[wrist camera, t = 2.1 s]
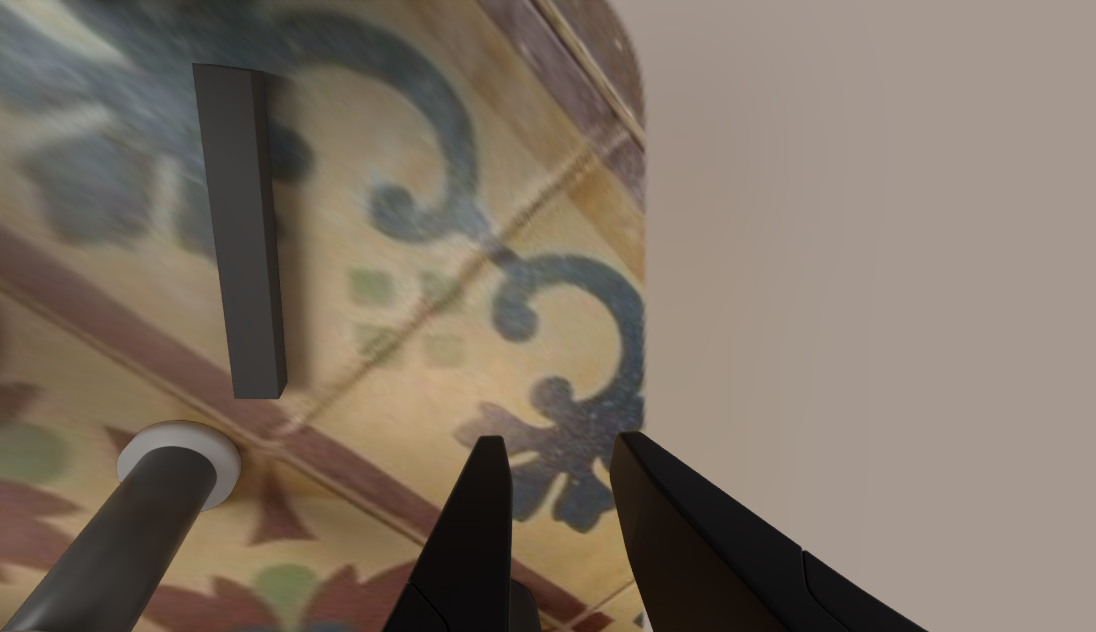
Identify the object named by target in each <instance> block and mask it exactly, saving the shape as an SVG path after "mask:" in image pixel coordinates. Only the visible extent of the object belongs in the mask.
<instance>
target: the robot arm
mask: <svg viewBox="0 0 1096 632" xmlns="http://www.w3.org/2000/svg"><path fill="white" fill-rule="evenodd" d="M610 482H611V486H612V491H613V495H614V499H615V504H616V508H617V512H618V517H619V521H620V526H621V530H622V534H623V539H624V543H625V547H626V551H627V555H628V559H629V562H630V566H631V569H632V572H633V575H634V578H635V580H636V583H637V586H638V589H639V592H640V595H641V598H642V600H643V603H644V606H645V609H646V612H647V615H648V618H649V620H650V623H651V626H652V629H653V632H928V631H927V630H925V629H923V628H922V627H920V626H919V625H917V624H915V623H914V622H912V621H911V620H909V619H907V618H905V617H904V616H903V615H901V614H899V613H898V612H896V611H895V610H893V609H892V608H890V607H889V606H887V605H885V604H884V603H882V602H881V601H879V600H878V599H876V598H875V597H873V596H872V595H870V594H868V593H867V592H865V591H864V590H862V589H861V588H859V587H858V586H856V585H855V584H853V583H852V582H851V581H849V580H848V579H846V578H845V577H843V576H842V575H840V574H839V573H837V572H836V571H835V570H833V569H832V568H830V567H829V566H827V565H826V564H825V563H823V562H822V561H820V560H819V559H817V558H816V557H815V556H813V555H812V554H811V553H809V552H808V551H806V550H804V551H802V548H801V546H799V545H798V544H796V543H795V542H794V541H792V540H791V539H789V538H788V537H787V536H785V535H784V534H782V533H781V532H780V531H778V530H777V529H775V528H774V527H773V526H771V525H770V524H768V523H767V522H766V521H764V520H763V519H762V518H760V517H759V516H757V515H756V514H754V513H753V512H751V511H750V510H749V509H747V508H746V507H745V506H743V505H742V504H740V503H739V502H738V501H736V500H735V499H734V498H732V497H731V496H729V495H728V494H727V493H725V492H724V491H722V490H721V489H720V488H718V487H717V486H715V485H714V484H712V483H711V482H710V481H708V480H707V479H706V478H704V477H703V476H701V475H700V474H699V473H697V472H696V471H694V470H693V469H692V468H690V467H689V466H687V465H686V464H684V463H683V462H682V461H680V460H679V459H678V458H676V457H675V456H673V455H672V454H670V453H669V452H668V451H666V450H665V449H664V448H662V447H661V446H660V445H658V444H657V443H655V442H654V441H653V440H651V439H650V438H648V437H647V436H646V435H644V434H643V433H641V432H638V431H628V432H619V433H618V434H617V435H616V438H615V442H614V447H613V453H612V458H611V464H610ZM512 507H513V482H512V476H511V471H510V466H509V462H508V457H507V452H506V448H505V443H504V439H503V437H502V436H500V435H489V436H480V437H479V438H478V440H477V441H476V443H475V445H474V447H473V450H472V452H471V454H470V456H469V458H468V460H467V462H466V464H465V466H464V468H463V470H462V472H461V474H460V476H459V478H458V480H457V482H456V484H455V486H454V488H453V490H452V492H451V494H450V496H449V498H448V500H447V502H446V504H445V506H444V508H443V510H442V512H441V514H440V516H439V518H438V520H437V522H436V524H435V526H434V528H433V530H432V532H431V534H430V536H429V538H428V540H427V542H426V544H425V546H424V548H423V550H422V552H421V554H420V556H419V558H418V560H417V562H416V564H415V566H414V568H413V570H412V572H411V574H410V576H409V578H408V583H406V584H405V585H404V587H403V589H402V591H401V593H400V595H399V598H398V600H397V602H396V604H395V606H394V607H393V609H392V611H391V613H390V615H389V617H388V618H387V620H386V622H385V624H384V626H383V628H382V630H381V631H380V632H509V622H510V584H511V545H512Z"/></svg>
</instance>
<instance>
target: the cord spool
mask: <svg viewBox="0 0 1096 632" xmlns="http://www.w3.org/2000/svg"><path fill="white" fill-rule="evenodd" d="M241 468H242V463H241V457H240V454H239V452H238V450H237V448H236V447H235V445H234V444H233V443H232V442H231V441H230V440H229V439H228V438H227V437H226V436H225V435H223V434H222V433H220V432H219V431H217V430H215V429H213V428H211V427H209V426H206V425H203V424H200V423H196V422H192V421H182V420H174V421H165V422H160V423H156V424H153V425H151V426H149V427H147V428H145V429H143V430H142V431H141V432H139V433H138V434H137V435H136V436H135V437H134V438H133V440H132V441H131V442H130V443H129V444H128V445H127V446H126V448H125V449H124V450H123V451H122V453H121V454H120V456H119V459H118V462H117V475H118V478H119V481H120V485H119V486H118V487H117V488H116V490H115V491H114V492H113V493H112V495H111V496H110V497H109V498H108V499H107V501H106V502H105V503H104V504H103V506H102V507H101V508H100V509H99V511H98V512H97V513H96V514H95V516H94V517H93V518H92V519H91V520H90V522H89V523H88V524H87V525H86V527H85V528H84V529H83V530H82V532H81V533H80V534H79V535H78V537H77V538H76V539H75V540H74V541H73V543H72V544H71V545H70V546H69V548H68V549H67V550H66V551H65V553H64V554H63V555H62V556H61V558H60V559H59V560H58V561H57V562H56V564H55V565H54V566H53V567H52V569H51V570H50V571H49V572H48V574H47V575H46V576H45V577H44V579H43V580H42V581H41V582H40V583H39V585H38V586H37V587H36V588H35V590H34V591H33V592H32V593H31V595H30V596H29V597H28V598H27V600H26V601H25V602H24V603H23V604H22V606H21V607H20V608H19V609H18V611H17V612H16V613H15V614H14V616H13V617H12V618H11V619H10V621H9V622H8V623H7V624H6V625H5V627H4V628H3V629H2V630H1V632H131V631H132V629H133V628H134V626H135V624H136V623H137V621H138V619H139V617H140V616H141V614H142V612H143V610H144V609H145V607H146V605H147V603H148V602H149V600H150V598H151V596H152V595H153V593H154V591H155V589H156V588H157V586H158V584H159V582H160V581H161V579H162V577H163V576H164V574H165V572H166V570H167V569H168V567H169V565H170V563H171V562H172V560H173V558H174V556H175V555H176V553H177V551H178V549H179V548H180V546H181V544H182V542H183V541H184V539H185V537H186V535H187V534H188V532H189V530H190V529H191V527H192V525H193V523H194V522H195V520H196V518H197V516H198V515H199V513H200V512H203V511H206V510H209V509H211V508H214V507H216V506H217V505H219V504H220V503H222V502H223V501H224V500H225V499H226V498H227V497H228V496H229V495H230V493H231V492H232V490H233V488H234V486H235V484H236V482H237V480H238V478H239V476H240V473H241Z"/></svg>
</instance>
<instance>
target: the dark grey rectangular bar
mask: <svg viewBox="0 0 1096 632" xmlns="http://www.w3.org/2000/svg"><path fill="white" fill-rule="evenodd" d="M192 65H193V73H194V81H195V89H196V97H197V105H198V113H199V121H200V128H201V136H202V144H203V152H204V160H205V168H206V176H207V184H208V192H209V199H210V207H211V215H212V223H213V231H214V239H215V247H216V255H217V263H218V271H219V278H220V286H221V294H222V302H223V310H224V318H225V326H226V334H227V342H228V349H229V357H230V365H231V373H232V381H233V389H234V397H235V398H236V399H279V398H280V396H281V394H282V392H283V390H284V388H285V386H286V384H287V371H286V358H285V345H284V332H283V319H282V306H281V293H280V280H279V267H278V254H277V241H276V228H275V215H274V202H273V190H272V177H271V164H270V151H269V138H268V125H267V112H266V99H265V86H264V73H263V71H256V70H249V69H242V68H235V67H227V66H220V65H213V64H197V63H192Z"/></svg>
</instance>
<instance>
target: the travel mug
mask: <svg viewBox="0 0 1096 632" xmlns="http://www.w3.org/2000/svg"><path fill="white" fill-rule="evenodd" d="M509 632H542V629H541V625H540V620H539V615H538V611H537V607H536V603H535V601H534V598H533V597H532V595H531V593H530V592H529V591H528V590H527V589H526V588H525V587H524V586H522V585H521V584H519V583H518V582H516V581H513V580H511V584H510V622H509Z"/></svg>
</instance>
